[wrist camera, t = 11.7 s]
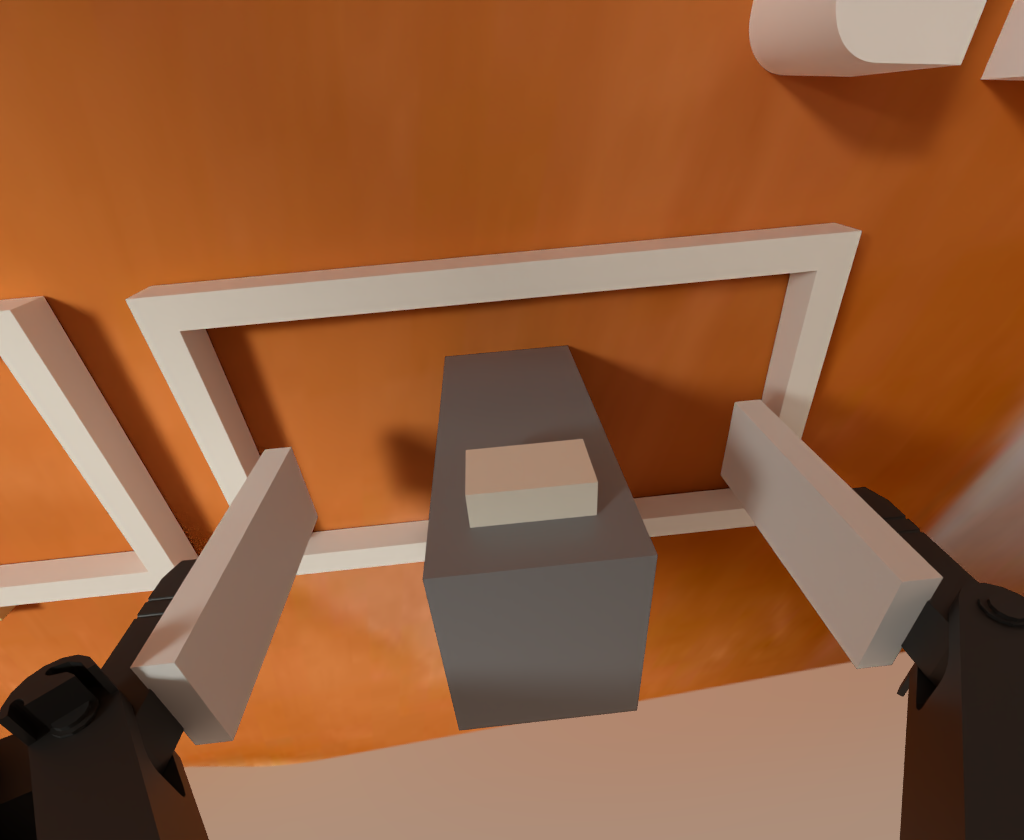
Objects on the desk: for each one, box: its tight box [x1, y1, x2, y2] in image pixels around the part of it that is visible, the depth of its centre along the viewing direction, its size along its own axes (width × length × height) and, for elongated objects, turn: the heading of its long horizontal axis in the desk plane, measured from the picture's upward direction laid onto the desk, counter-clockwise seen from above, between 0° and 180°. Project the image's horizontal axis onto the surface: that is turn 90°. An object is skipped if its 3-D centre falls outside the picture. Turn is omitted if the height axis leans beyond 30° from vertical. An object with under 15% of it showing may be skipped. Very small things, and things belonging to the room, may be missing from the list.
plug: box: [423, 345, 658, 730], centre depth 13 cm, size 4×6×9 cm
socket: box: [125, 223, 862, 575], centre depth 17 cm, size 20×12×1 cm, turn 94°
